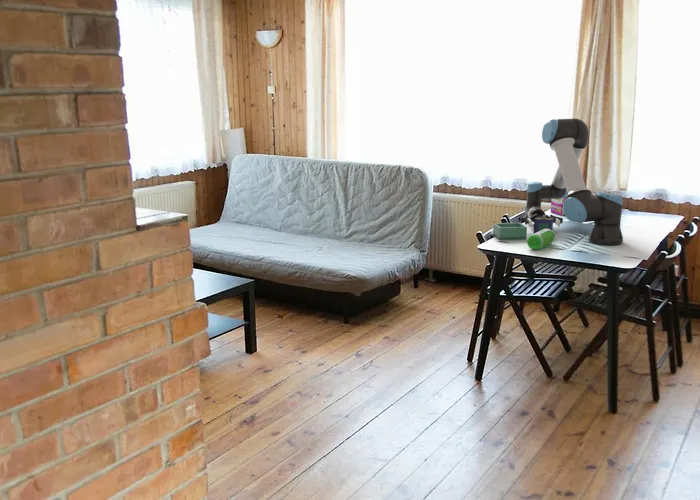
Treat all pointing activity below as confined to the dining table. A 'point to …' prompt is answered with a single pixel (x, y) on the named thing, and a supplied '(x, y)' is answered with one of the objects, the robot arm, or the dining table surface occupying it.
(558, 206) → the candy bar box
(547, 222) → the flask
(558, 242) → the dining table surface
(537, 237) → the speaker
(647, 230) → the dining table surface
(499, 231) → the open box
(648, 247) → the dining table surface
